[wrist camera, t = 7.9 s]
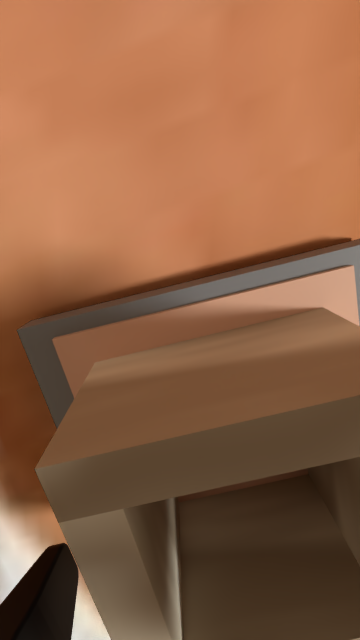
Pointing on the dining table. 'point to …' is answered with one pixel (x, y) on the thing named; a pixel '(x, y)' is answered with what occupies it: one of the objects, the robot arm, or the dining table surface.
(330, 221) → the dining table surface
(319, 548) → the beige square hollow block
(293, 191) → the dining table surface
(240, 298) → the stand board
